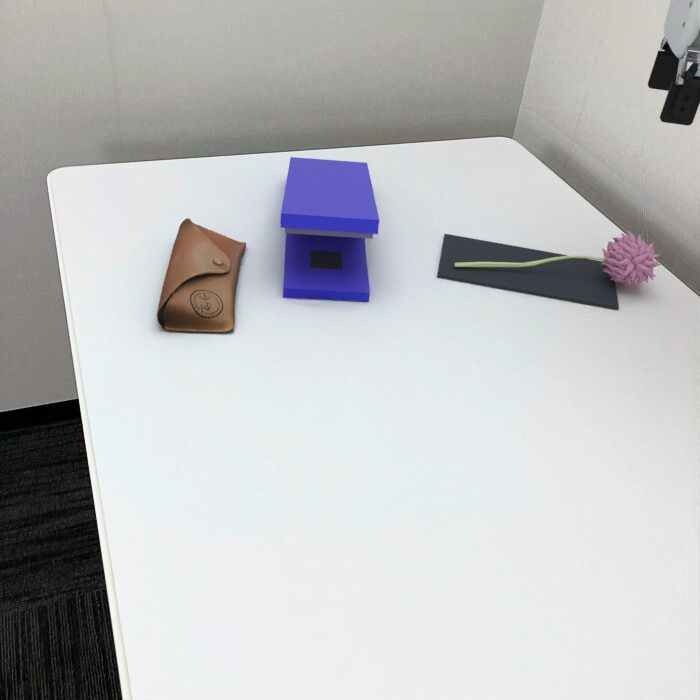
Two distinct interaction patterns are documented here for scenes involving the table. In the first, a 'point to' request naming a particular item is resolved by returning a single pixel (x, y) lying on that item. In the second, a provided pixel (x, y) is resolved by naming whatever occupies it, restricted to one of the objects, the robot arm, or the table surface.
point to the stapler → (327, 229)
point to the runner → (528, 272)
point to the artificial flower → (606, 260)
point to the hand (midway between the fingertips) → (667, 105)
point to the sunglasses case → (200, 282)
